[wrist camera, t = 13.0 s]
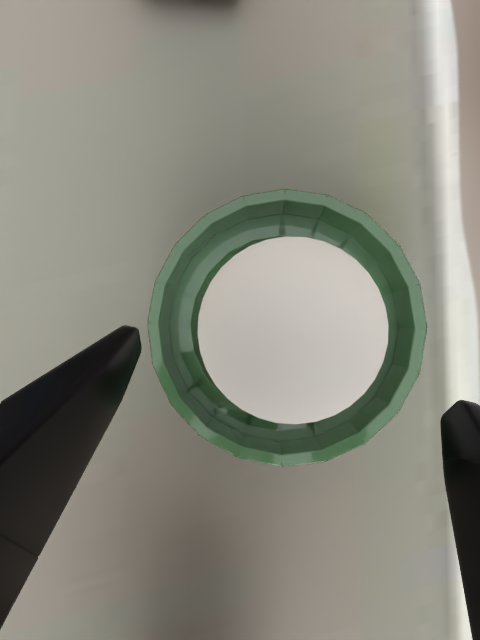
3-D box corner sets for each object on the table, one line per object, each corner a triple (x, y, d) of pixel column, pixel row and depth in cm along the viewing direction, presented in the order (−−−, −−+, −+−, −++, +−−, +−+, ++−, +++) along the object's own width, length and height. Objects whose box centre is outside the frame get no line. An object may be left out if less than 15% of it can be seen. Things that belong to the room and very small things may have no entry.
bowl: (370, 456, 19) (400, 491, 15) (154, 413, 20) (126, 435, 16) (406, 236, 19) (447, 211, 15) (192, 204, 20) (174, 172, 16)
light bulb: (303, 257, 19) (359, 161, 8) (351, 356, 19) (478, 392, 8) (206, 304, 20) (135, 270, 9) (251, 402, 19) (239, 498, 8)
